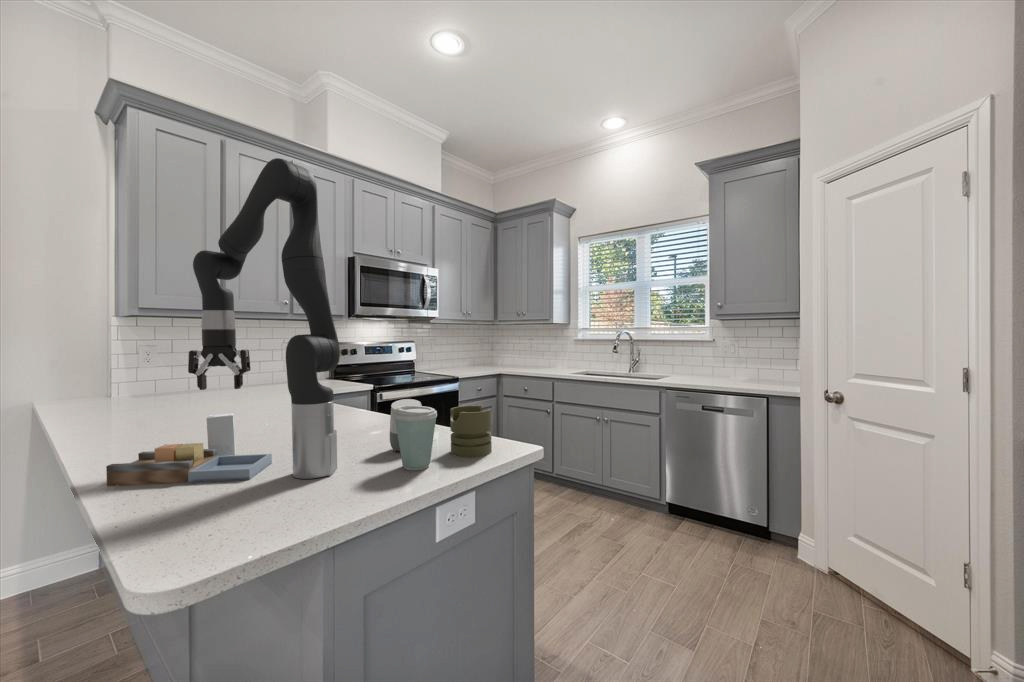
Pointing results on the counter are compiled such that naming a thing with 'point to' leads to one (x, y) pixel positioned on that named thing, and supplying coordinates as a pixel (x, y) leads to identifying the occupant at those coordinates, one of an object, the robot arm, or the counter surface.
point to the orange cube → (166, 453)
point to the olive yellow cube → (190, 452)
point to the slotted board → (153, 470)
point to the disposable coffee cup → (415, 435)
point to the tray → (230, 468)
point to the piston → (470, 431)
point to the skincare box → (221, 434)
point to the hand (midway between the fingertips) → (220, 389)
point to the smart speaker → (393, 429)
